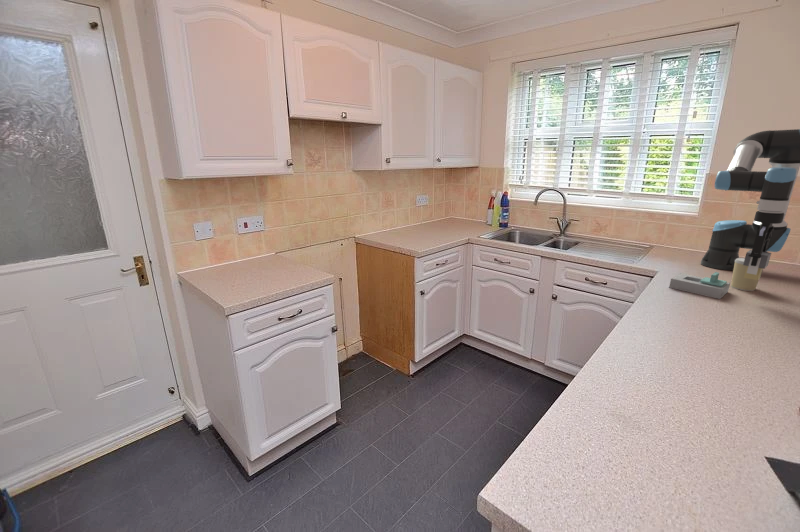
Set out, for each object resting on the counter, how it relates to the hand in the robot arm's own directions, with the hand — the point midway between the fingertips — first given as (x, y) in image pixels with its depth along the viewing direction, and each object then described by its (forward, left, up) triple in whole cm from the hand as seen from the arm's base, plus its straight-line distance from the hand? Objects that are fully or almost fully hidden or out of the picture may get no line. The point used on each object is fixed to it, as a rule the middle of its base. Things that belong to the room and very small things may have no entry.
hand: (753, 271), depth 142 cm
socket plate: (+2, -15, -11) cm, 19 cm away
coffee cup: (-16, -4, -11) cm, 21 cm away
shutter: (+2, -11, -7) cm, 13 cm away
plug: (0, 0, -2) cm, 2 cm away
